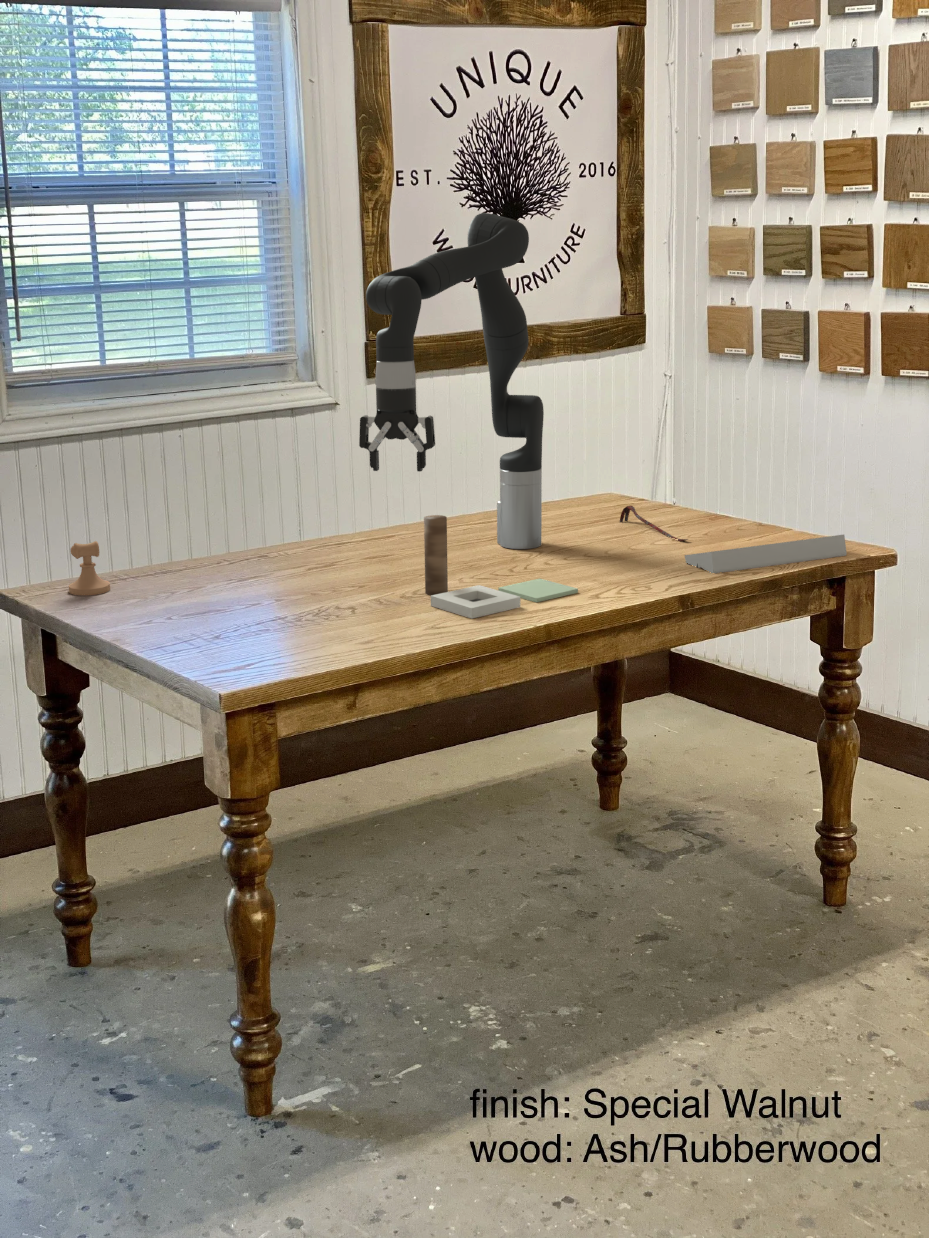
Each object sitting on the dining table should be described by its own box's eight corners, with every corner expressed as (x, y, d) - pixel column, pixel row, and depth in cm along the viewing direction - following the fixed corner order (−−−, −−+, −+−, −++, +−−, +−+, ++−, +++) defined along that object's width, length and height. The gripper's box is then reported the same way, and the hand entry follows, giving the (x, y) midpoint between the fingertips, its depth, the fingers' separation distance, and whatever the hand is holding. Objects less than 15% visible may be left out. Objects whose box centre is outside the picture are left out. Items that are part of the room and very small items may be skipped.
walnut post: (420, 592, 284) (419, 517, 280) (438, 588, 287) (437, 514, 283) (434, 596, 281) (433, 520, 277) (452, 592, 284) (451, 517, 280)
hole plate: (430, 605, 275) (430, 595, 274) (479, 595, 282) (479, 585, 281) (471, 618, 266) (471, 608, 265) (520, 607, 273) (520, 596, 272)
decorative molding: (687, 577, 305) (714, 575, 296) (684, 555, 305) (711, 551, 296) (817, 559, 319) (847, 556, 310) (814, 538, 319) (844, 534, 310)
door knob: (109, 544, 284) (68, 548, 281) (113, 592, 287) (72, 597, 284) (102, 536, 291) (62, 540, 288) (106, 583, 294) (66, 587, 291)
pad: (498, 591, 284) (498, 587, 284) (539, 582, 291) (539, 578, 291) (536, 602, 276) (536, 598, 276) (578, 592, 283) (578, 588, 283)
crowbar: (618, 523, 346) (620, 503, 345) (627, 522, 347) (628, 502, 346) (679, 559, 325) (682, 538, 323) (688, 558, 326) (690, 537, 324)
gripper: (436, 383, 275) (438, 468, 279) (363, 383, 278) (366, 467, 282) (429, 387, 268) (430, 474, 272) (354, 387, 270) (356, 473, 275)
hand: (397, 470), depth 277 cm, fingers open, 8 cm apart
